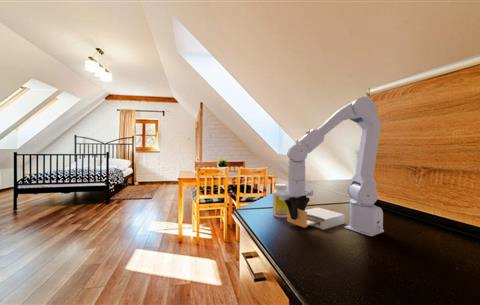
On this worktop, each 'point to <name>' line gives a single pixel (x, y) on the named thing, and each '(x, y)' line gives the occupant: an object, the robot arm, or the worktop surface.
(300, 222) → the tan and white l-shape
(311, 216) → the dispenser
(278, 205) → the supplement bottle
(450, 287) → the worktop surface
